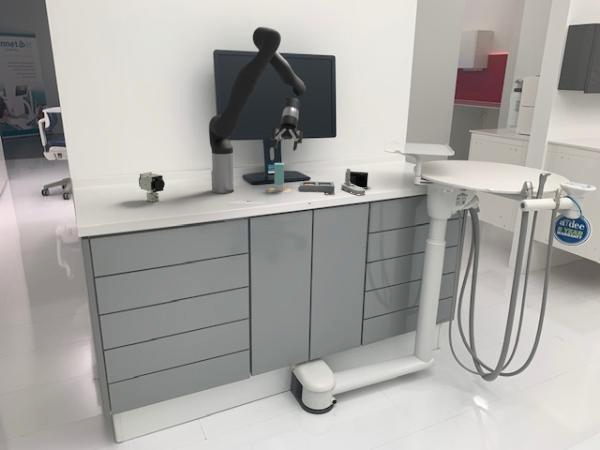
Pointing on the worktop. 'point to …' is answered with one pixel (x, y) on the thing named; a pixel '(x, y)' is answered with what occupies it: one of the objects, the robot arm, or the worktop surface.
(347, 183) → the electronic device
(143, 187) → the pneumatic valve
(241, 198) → the worktop surface
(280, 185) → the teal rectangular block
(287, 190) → the deck
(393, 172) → the worktop surface
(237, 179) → the worktop surface
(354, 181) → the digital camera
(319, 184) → the port block
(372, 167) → the worktop surface
